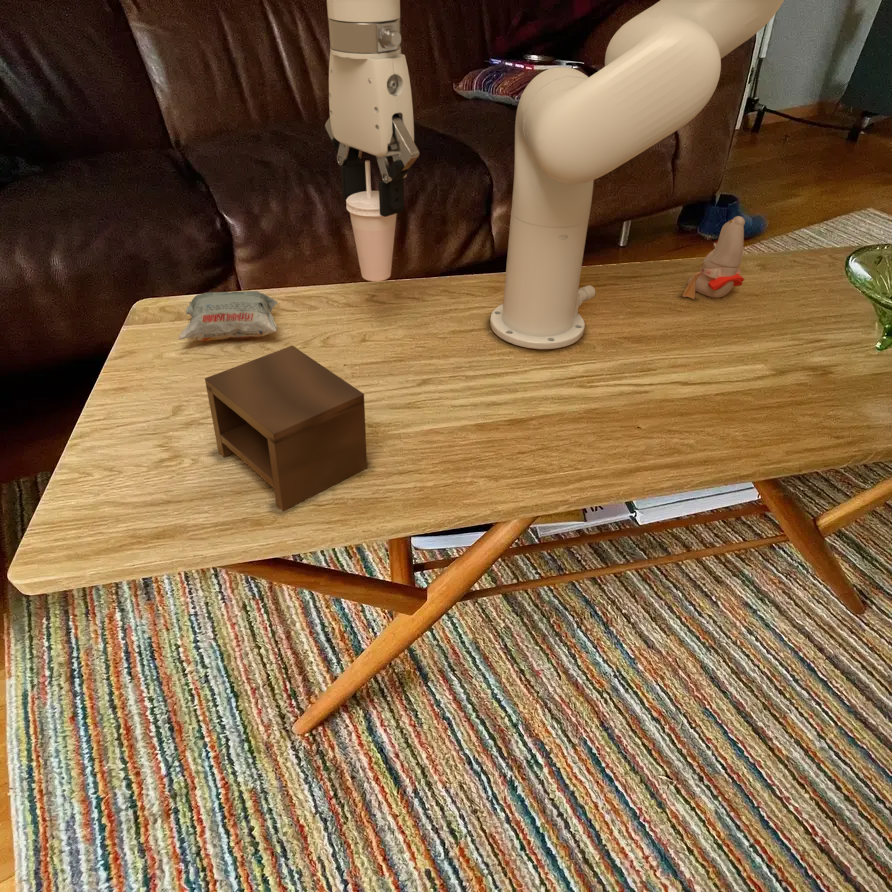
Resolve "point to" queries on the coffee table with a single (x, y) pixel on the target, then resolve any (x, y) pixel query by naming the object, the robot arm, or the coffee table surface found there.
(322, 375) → the box
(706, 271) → the figurine
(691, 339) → the coffee table surface
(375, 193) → the smoothie
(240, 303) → the packaged food
